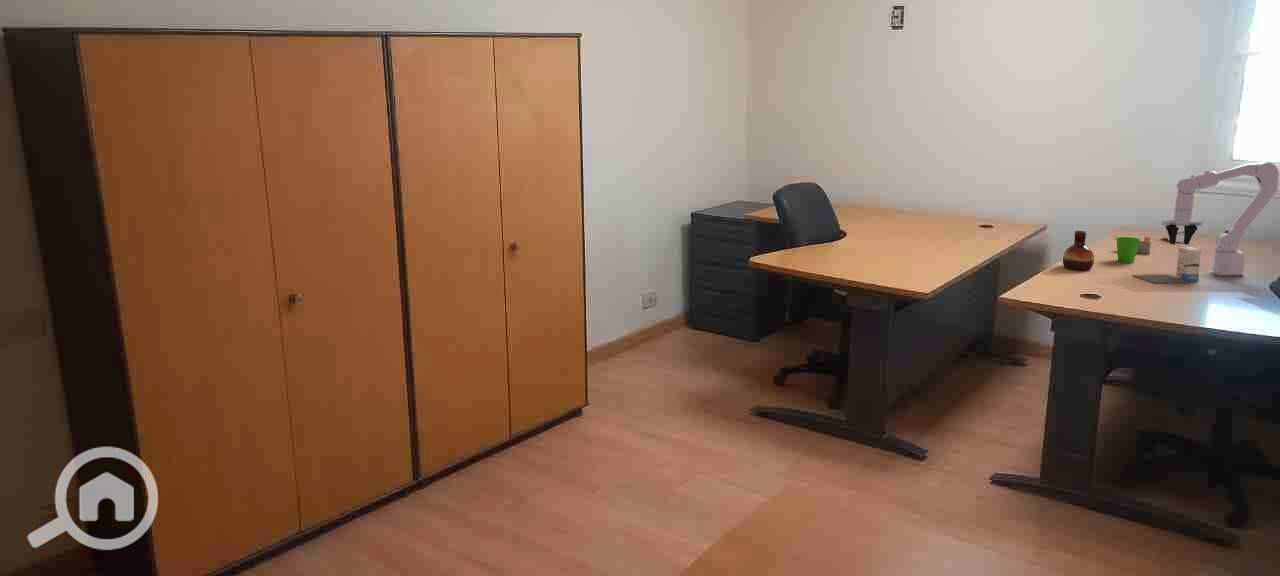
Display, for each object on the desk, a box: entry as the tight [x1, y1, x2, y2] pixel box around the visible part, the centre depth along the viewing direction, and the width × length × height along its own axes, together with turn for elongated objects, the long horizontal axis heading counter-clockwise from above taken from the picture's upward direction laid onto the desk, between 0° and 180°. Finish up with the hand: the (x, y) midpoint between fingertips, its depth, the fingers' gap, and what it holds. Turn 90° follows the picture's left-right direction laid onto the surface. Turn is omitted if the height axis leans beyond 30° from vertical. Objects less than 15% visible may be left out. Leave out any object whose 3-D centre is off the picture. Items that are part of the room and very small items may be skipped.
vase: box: [1062, 230, 1095, 272], centre depth 355 cm, size 11×11×15 cm
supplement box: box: [1166, 223, 1191, 244], centre depth 407 cm, size 7×7×13 cm
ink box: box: [1175, 246, 1202, 282], centre depth 335 cm, size 9×5×12 cm, turn 168°
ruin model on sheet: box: [1136, 236, 1152, 255], centre depth 384 cm, size 11×3×10 cm, turn 59°
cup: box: [1115, 236, 1142, 264], centre depth 366 cm, size 9×9×11 cm
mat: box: [1132, 274, 1191, 284], centre depth 336 cm, size 13×15×1 cm
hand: (1179, 244), depth 352 cm, fingers open, 5 cm apart
